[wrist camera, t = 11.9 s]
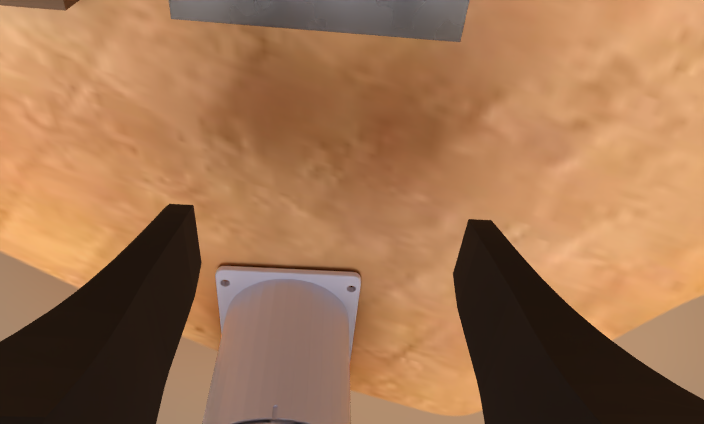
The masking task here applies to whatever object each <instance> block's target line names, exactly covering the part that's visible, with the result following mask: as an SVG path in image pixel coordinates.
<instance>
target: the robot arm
mask: <svg viewBox="0 0 704 424" xmlns="http://www.w3.org/2000/svg"><path fill="white" fill-rule="evenodd" d="M200 268H201V256H200V249H199V242H198V235H197V227H196V220H195V213H194V206H193V205H180V204H169V205H168V206H166V207H165V208H164V209H163V210H162V211H161V212H160V213H159V215H158V216H157V217H156V218H155V219H154V220H153V221H152V222H151V223H150V224H149V225H148V226H147V227H146V228H145V229H144V230H143V231H142V232H141V233H140V234H139V235H138V236H137V237H136V238H135V239H134V240H133V241H132V242H131V243H130V244H129V245H128V246H127V247H126V248H125V249H124V250H123V251H122V252H121V253H120V254H119V255H118V256H117V257H116V258H115V259H114V260H113V261H111V262H110V263H109V264H108V265H107V266H106V267H105V268H103V269H102V270H101V271H100V272H99V273H98V274H97V275H95V276H94V277H93V278H92V279H91V280H90V281H89V282H87V283H86V284H85V285H84V286H82V287H81V288H80V289H79V290H77V292H75V293H74V294H72V295H71V296H70V297H68V298H67V299H66V300H64V301H63V302H62V303H60V304H59V305H58V306H56V307H55V308H53V309H52V310H50V311H49V312H48V313H46V314H44V315H43V316H41V317H39V318H38V319H37V320H35V321H33V322H32V323H30V324H29V325H27V326H25V327H24V328H22V329H21V330H19V331H18V332H16V333H14V334H13V335H11V336H9V337H8V338H6V339H4V340H2V341H1V342H0V424H156V421H157V417H158V412H159V408H160V404H161V399H162V395H163V391H164V387H165V383H166V380H167V377H168V373H169V370H170V367H171V364H172V361H173V358H174V356H175V353H176V350H177V347H178V344H179V341H180V338H181V335H182V332H183V330H184V327H185V324H186V321H187V318H188V315H189V312H190V309H191V306H192V303H193V300H194V297H195V292H196V288H197V283H198V278H199V273H200ZM215 278H216V287H217V296H218V306H219V315H220V324H221V334H222V336H221V341H220V345H219V350H218V354H217V359H216V364H215V368H214V373H213V377H212V382H211V386H210V391H209V395H208V400H207V405H206V409H205V414H204V419H203V423H202V424H351V409H350V358H351V351H352V344H353V337H354V330H355V323H356V315H357V308H358V301H359V294H360V287H361V276H360V275H359V274H358V273H356V272H344V271H323V270H302V269H281V268H260V267H239V266H221V267H219V268H218V269H217V270H216V275H215ZM453 278H454V286H455V294H456V301H457V308H458V312H459V316H460V320H461V323H462V327H463V331H464V335H465V338H466V342H467V346H468V349H469V353H470V357H471V361H472V364H473V368H474V372H475V375H476V379H477V383H478V388H479V392H480V397H481V403H482V409H483V415H484V421H485V424H704V400H703V399H701V398H700V397H698V396H696V395H694V394H692V393H690V392H688V391H687V390H685V389H683V388H681V387H680V386H678V385H676V384H675V383H673V382H672V381H670V380H668V379H667V378H665V377H664V376H662V375H661V374H659V373H657V372H656V371H654V370H653V369H651V368H649V367H648V366H646V365H645V364H644V363H642V362H641V361H639V360H638V359H636V358H635V357H633V356H632V355H630V354H629V353H628V352H626V351H625V350H624V349H622V348H621V347H619V346H618V345H617V344H615V343H614V342H613V341H611V340H610V339H609V338H607V337H606V336H605V335H604V334H602V333H601V332H600V331H598V330H597V329H596V328H595V327H594V326H592V325H591V324H590V323H589V322H588V321H587V320H585V319H584V318H583V317H582V316H581V315H579V314H578V313H577V312H576V311H575V310H574V309H573V308H572V307H570V306H569V305H568V304H567V303H566V302H565V301H564V300H563V299H562V298H561V297H560V296H559V295H558V294H557V293H556V292H555V291H554V290H553V289H552V288H551V287H550V286H549V285H548V284H547V283H546V282H545V281H544V280H543V279H542V278H541V277H540V276H539V275H538V274H537V273H536V271H535V270H534V269H533V268H532V267H531V266H530V265H529V264H528V263H527V261H526V260H525V259H524V258H523V257H522V256H521V255H520V254H519V252H518V251H517V250H516V249H515V248H514V247H513V245H512V244H511V243H510V242H509V241H508V239H507V238H506V237H505V236H504V235H503V234H502V232H501V231H500V230H499V229H498V228H497V226H496V225H495V224H494V223H493V222H492V221H491V220H474V219H469V220H468V223H467V227H466V230H465V234H464V237H463V241H462V244H461V248H460V251H459V255H458V258H457V262H456V265H455V269H454V272H453ZM223 280H227V281H223ZM349 286H354V287H349Z"/></svg>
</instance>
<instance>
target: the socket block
mask: <svg viewBox="0 0 704 424" xmlns="http://www.w3.org/2000/svg"><path fill="white" fill-rule="evenodd" d="M468 4H469V0H169V5H170V13H171V19H179V20H191V21H203V22H216V23H228V24H241V25H253V26H266V27H278V28H291V29H303V30H316V31H328V32H341V33H353V34H366V35H378V36H391V37H403V38H415V39H428V40H440V41H453V42H460V41H461V36H462V32H463V27H464V22H465V18H466V13H467V9H468Z"/></svg>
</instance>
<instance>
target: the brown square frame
mask: <svg viewBox="0 0 704 424" xmlns="http://www.w3.org/2000/svg"><path fill="white" fill-rule="evenodd" d="M78 1H79V0H0V5H4V6H16V7H29V8H41V9H54V10H67V9H68V8H70V7H71V6H72V5H74V4H75V3H76V2H78Z"/></svg>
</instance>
